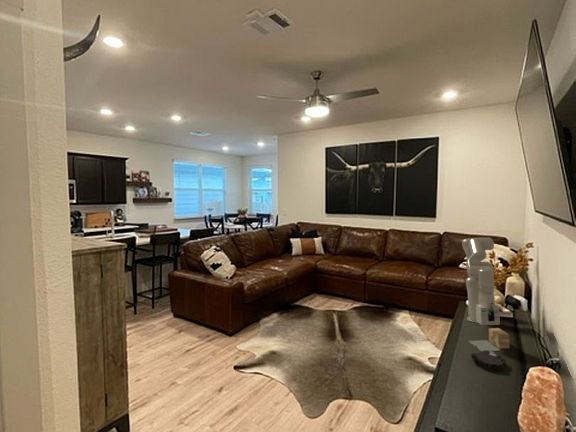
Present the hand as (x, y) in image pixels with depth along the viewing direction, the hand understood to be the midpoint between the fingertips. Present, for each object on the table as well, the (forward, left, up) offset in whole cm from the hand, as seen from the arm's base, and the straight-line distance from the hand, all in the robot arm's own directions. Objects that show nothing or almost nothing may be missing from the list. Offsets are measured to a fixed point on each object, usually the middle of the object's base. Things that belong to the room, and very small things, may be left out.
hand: (487, 318), depth 194 cm
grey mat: (+1, -3, -16) cm, 17 cm away
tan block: (0, +6, -16) cm, 17 cm away
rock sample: (+22, -13, -17) cm, 30 cm away
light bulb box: (0, 0, -3) cm, 3 cm away
